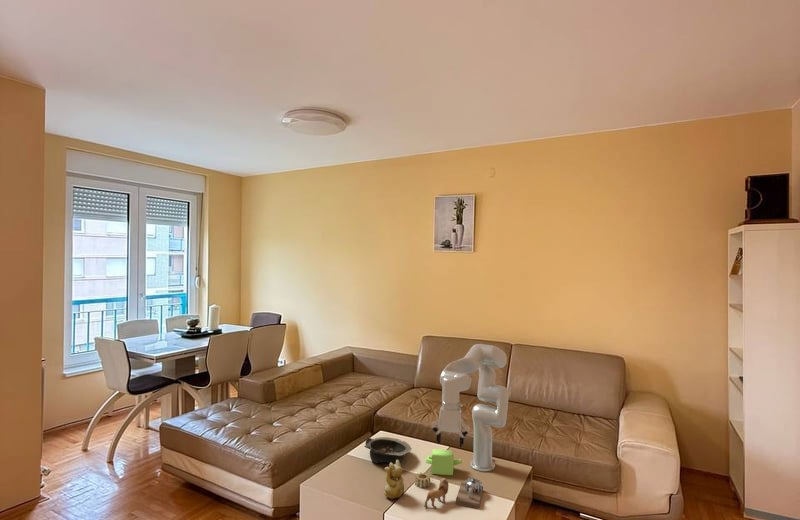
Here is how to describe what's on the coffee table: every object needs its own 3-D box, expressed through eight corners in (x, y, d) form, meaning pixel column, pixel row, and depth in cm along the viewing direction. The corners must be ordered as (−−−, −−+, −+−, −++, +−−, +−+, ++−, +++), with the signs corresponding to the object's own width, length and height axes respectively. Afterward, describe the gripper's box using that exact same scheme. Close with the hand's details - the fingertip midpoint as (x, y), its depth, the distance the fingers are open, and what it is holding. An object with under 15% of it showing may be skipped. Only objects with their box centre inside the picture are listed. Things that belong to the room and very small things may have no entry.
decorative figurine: (395, 488, 196) (395, 456, 196) (409, 494, 191) (409, 461, 191) (381, 497, 189) (381, 463, 189) (395, 504, 184) (395, 469, 183)
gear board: (461, 486, 198) (461, 473, 198) (482, 490, 195) (483, 477, 195) (455, 504, 184) (455, 490, 184) (478, 508, 181) (478, 494, 181)
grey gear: (464, 483, 197) (464, 475, 197) (480, 484, 197) (480, 475, 197) (466, 492, 190) (466, 483, 190) (482, 493, 189) (482, 484, 189)
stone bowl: (357, 465, 217) (358, 447, 218) (374, 448, 241) (375, 431, 242) (403, 472, 210) (404, 453, 210) (416, 454, 234) (416, 436, 234)
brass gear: (417, 478, 205) (417, 471, 205) (432, 481, 203) (432, 473, 203) (412, 486, 198) (413, 478, 198) (428, 489, 196) (428, 481, 196)
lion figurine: (441, 494, 191) (442, 475, 191) (451, 499, 188) (451, 479, 188) (421, 508, 181) (421, 487, 181) (430, 514, 177) (430, 492, 177)
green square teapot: (461, 467, 217) (461, 449, 218) (462, 476, 208) (462, 457, 208) (426, 464, 219) (427, 446, 220) (425, 473, 209) (426, 454, 210)
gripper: (471, 404, 186) (470, 443, 186) (432, 400, 191) (432, 438, 191) (469, 410, 179) (468, 450, 179) (429, 406, 184) (428, 445, 184)
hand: (450, 444), depth 185 cm, fingers open, 9 cm apart
